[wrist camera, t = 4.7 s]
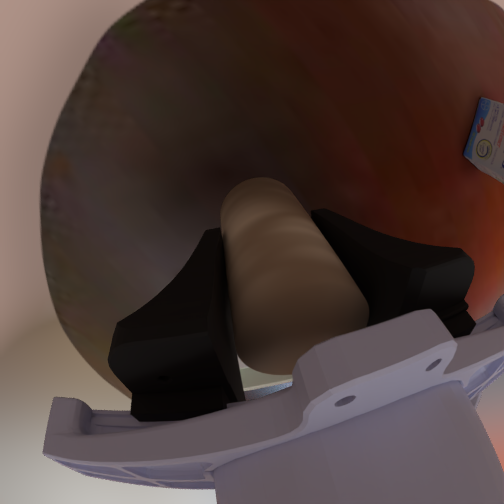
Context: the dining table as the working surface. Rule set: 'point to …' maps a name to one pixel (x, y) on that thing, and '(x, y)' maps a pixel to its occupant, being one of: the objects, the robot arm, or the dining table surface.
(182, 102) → the dining table surface
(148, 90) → the dining table surface
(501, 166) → the medicine box
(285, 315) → the birch peg
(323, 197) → the dining table surface
